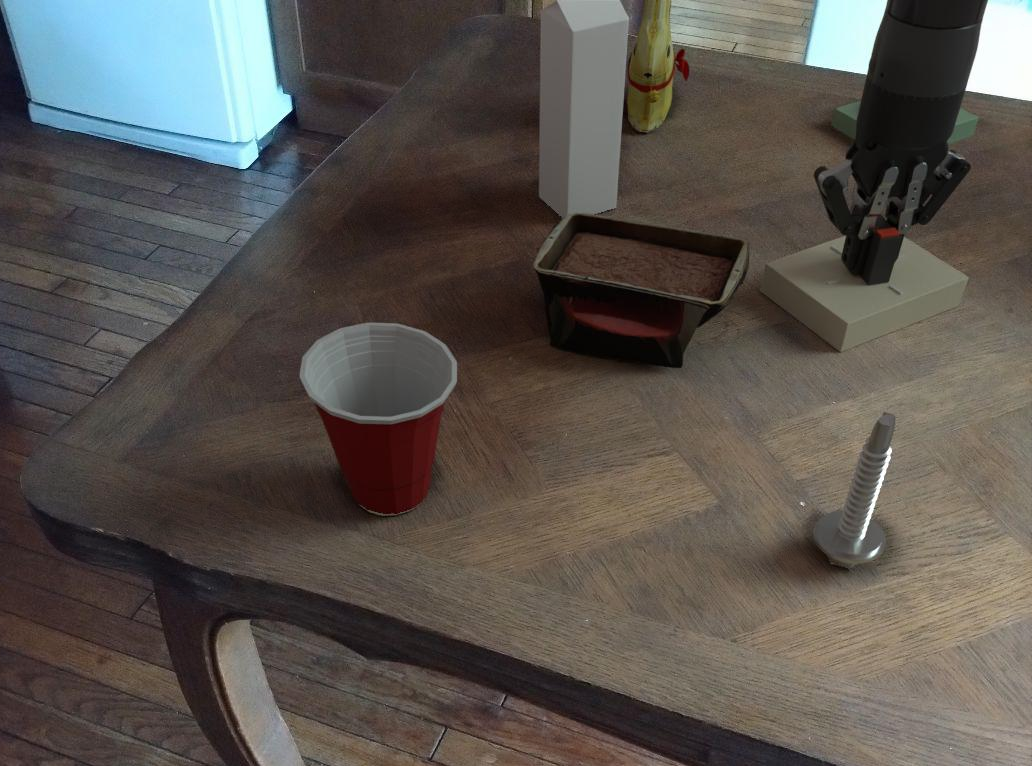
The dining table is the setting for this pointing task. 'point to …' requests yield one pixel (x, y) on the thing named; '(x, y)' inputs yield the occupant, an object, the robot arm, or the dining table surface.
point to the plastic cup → (381, 408)
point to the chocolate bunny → (653, 68)
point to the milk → (581, 104)
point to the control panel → (860, 292)
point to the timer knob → (881, 252)
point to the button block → (848, 114)
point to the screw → (859, 505)
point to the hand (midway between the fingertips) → (867, 267)
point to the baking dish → (634, 286)
